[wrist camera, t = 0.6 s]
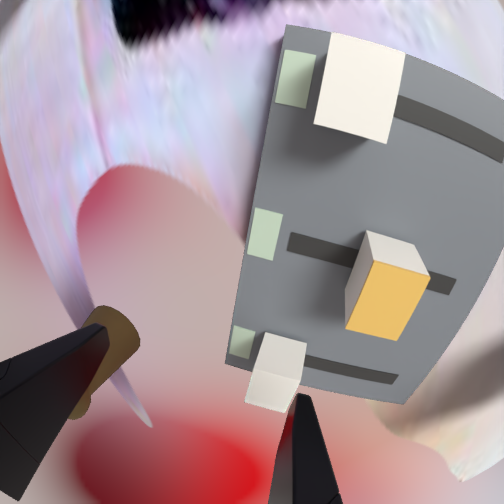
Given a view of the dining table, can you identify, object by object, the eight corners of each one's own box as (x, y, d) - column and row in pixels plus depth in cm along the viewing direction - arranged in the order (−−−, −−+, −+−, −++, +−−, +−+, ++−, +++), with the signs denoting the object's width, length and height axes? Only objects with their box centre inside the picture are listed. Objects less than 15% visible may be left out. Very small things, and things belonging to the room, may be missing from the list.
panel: (528, 122, 11) (542, 125, 10) (401, 391, 23) (403, 405, 22) (289, 31, 14) (285, 23, 12) (230, 351, 25) (224, 364, 24)
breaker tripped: (413, 244, 16) (430, 278, 12) (388, 301, 17) (396, 340, 14) (366, 230, 16) (374, 261, 13) (344, 289, 18) (345, 328, 15)
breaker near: (389, 64, 12) (405, 53, 9) (374, 136, 14) (386, 144, 11) (331, 48, 12) (331, 31, 9) (316, 121, 14) (313, 123, 11)
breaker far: (307, 343, 20) (300, 380, 17) (292, 377, 22) (284, 413, 19) (265, 332, 21) (253, 368, 18) (255, 367, 23) (244, 401, 20)
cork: (84, 311, 29) (19, 379, 19) (115, 299, 26) (40, 379, 17) (116, 354, 30) (62, 425, 21) (151, 348, 28) (93, 433, 18)
